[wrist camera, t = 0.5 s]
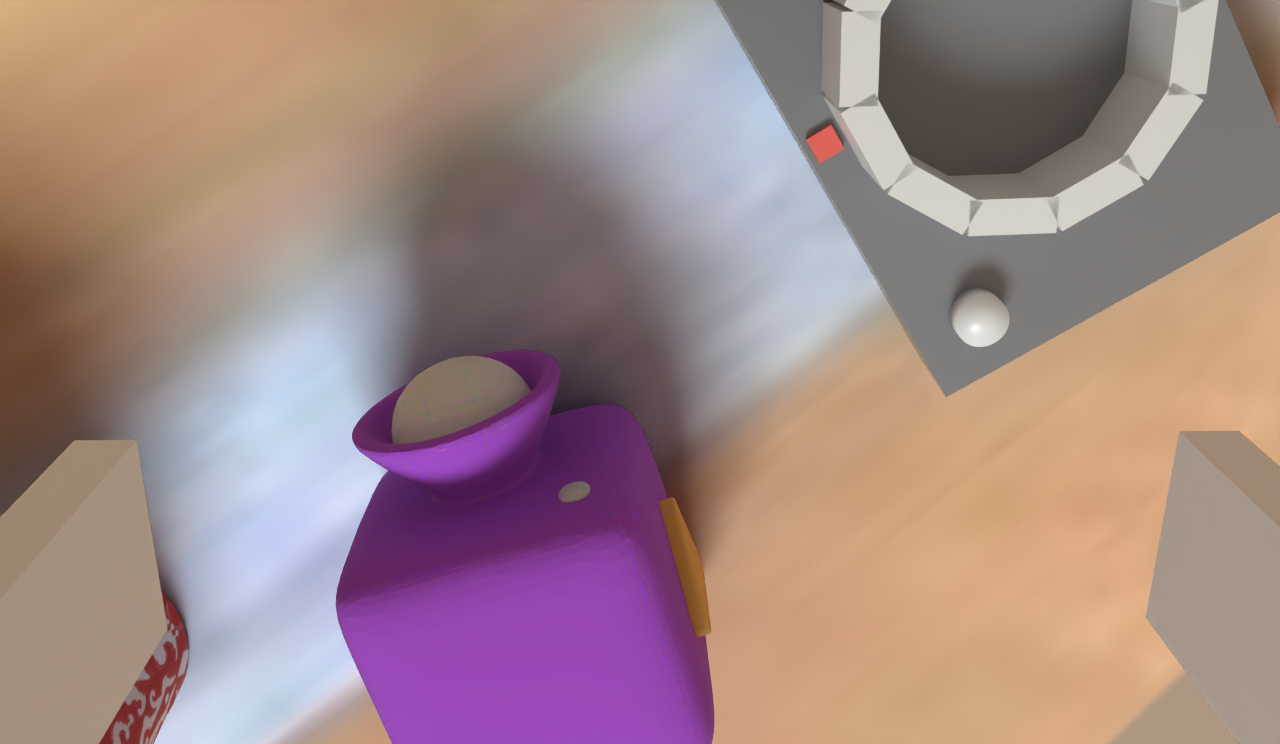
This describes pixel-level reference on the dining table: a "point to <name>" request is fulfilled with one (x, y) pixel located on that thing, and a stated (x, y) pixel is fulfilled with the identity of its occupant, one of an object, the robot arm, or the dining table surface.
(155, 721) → the mug
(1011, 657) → the dining table surface
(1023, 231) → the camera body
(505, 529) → the toy camera
